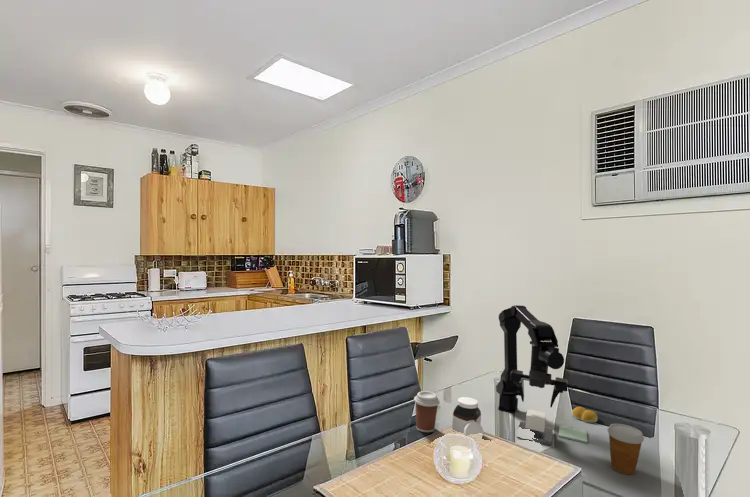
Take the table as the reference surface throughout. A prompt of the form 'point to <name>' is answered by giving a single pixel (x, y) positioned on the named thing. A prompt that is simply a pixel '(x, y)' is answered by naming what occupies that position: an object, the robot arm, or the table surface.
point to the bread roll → (584, 415)
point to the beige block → (535, 420)
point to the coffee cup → (426, 410)
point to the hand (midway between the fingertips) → (536, 404)
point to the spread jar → (467, 417)
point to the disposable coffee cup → (624, 447)
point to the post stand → (540, 434)
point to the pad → (573, 434)
